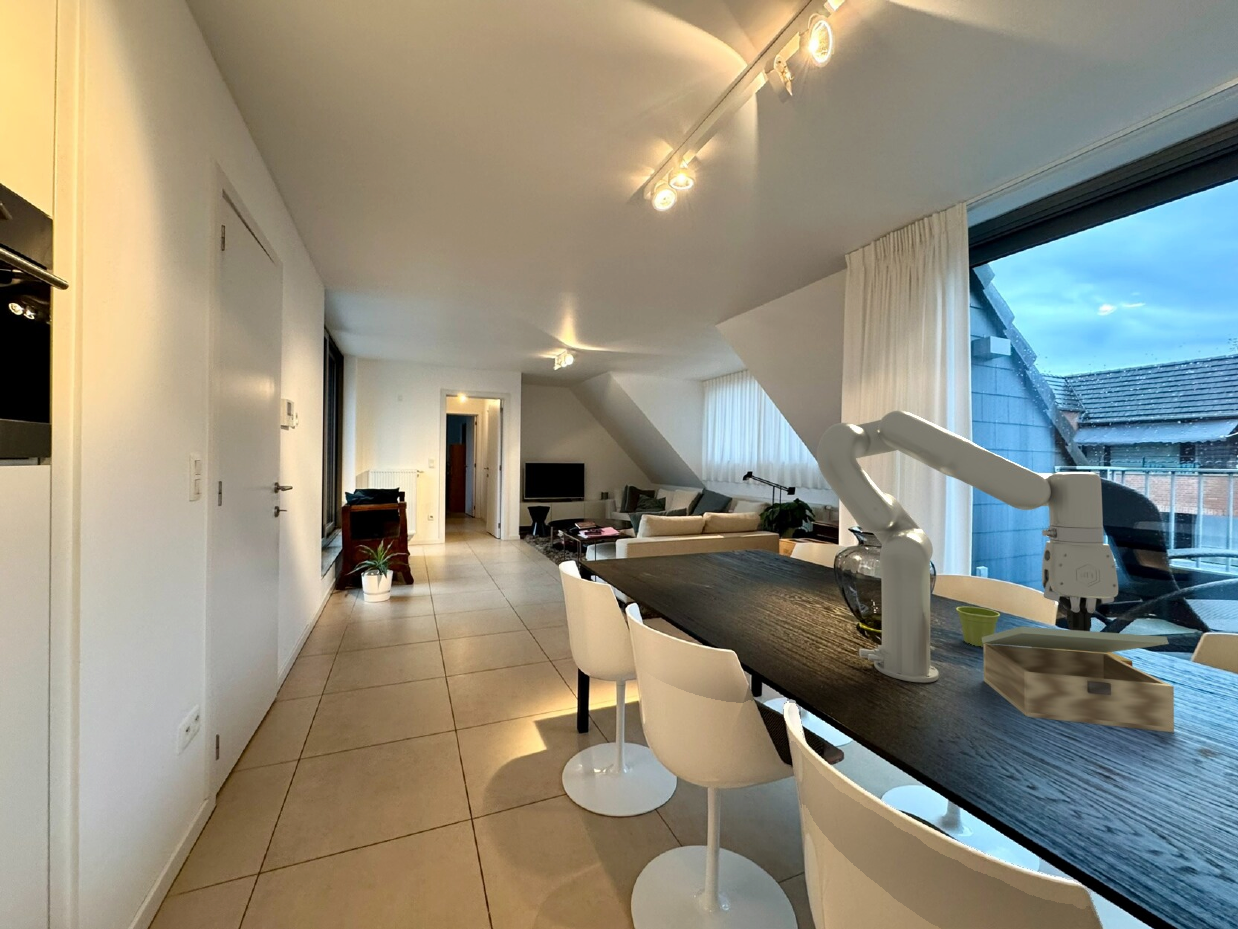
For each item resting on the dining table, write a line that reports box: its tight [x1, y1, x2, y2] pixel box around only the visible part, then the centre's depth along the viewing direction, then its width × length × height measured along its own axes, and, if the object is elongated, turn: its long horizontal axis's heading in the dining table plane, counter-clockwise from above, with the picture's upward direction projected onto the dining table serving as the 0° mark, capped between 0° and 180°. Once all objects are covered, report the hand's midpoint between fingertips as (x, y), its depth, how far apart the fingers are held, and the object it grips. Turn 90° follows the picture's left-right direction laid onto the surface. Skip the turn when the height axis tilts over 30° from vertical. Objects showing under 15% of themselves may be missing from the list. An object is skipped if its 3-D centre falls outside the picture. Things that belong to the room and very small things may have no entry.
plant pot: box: [955, 606, 1001, 648], centre depth 128 cm, size 9×9×9 cm
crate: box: [983, 644, 1175, 733], centre depth 95 cm, size 22×16×8 cm
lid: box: [981, 626, 1170, 653], centre depth 96 cm, size 22×16×1 cm
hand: (1079, 631), depth 93 cm, fingers closed
